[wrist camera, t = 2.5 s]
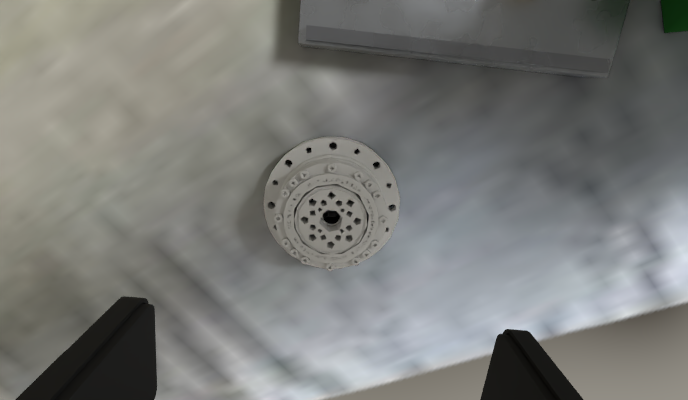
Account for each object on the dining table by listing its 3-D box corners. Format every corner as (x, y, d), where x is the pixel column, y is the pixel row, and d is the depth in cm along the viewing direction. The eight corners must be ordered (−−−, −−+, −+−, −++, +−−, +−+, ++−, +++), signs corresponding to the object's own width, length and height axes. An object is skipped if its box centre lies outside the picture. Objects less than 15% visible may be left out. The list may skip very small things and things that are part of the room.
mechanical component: (424, 203, 29) (334, 106, 27) (438, 222, 25) (333, 109, 23) (330, 283, 31) (239, 199, 29) (329, 314, 27) (222, 218, 25)
